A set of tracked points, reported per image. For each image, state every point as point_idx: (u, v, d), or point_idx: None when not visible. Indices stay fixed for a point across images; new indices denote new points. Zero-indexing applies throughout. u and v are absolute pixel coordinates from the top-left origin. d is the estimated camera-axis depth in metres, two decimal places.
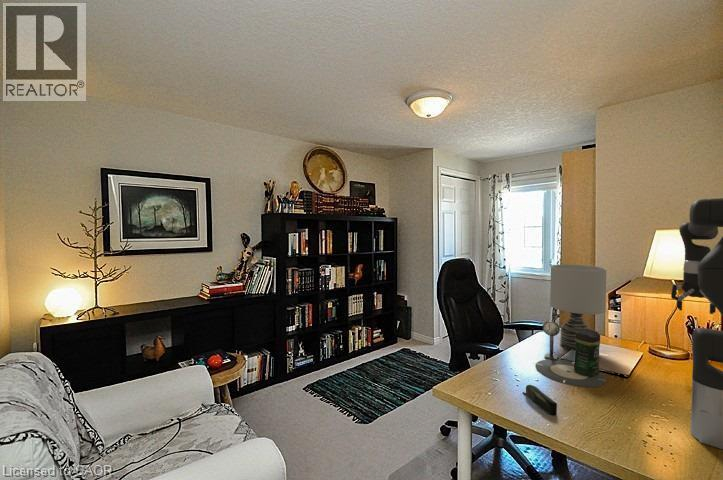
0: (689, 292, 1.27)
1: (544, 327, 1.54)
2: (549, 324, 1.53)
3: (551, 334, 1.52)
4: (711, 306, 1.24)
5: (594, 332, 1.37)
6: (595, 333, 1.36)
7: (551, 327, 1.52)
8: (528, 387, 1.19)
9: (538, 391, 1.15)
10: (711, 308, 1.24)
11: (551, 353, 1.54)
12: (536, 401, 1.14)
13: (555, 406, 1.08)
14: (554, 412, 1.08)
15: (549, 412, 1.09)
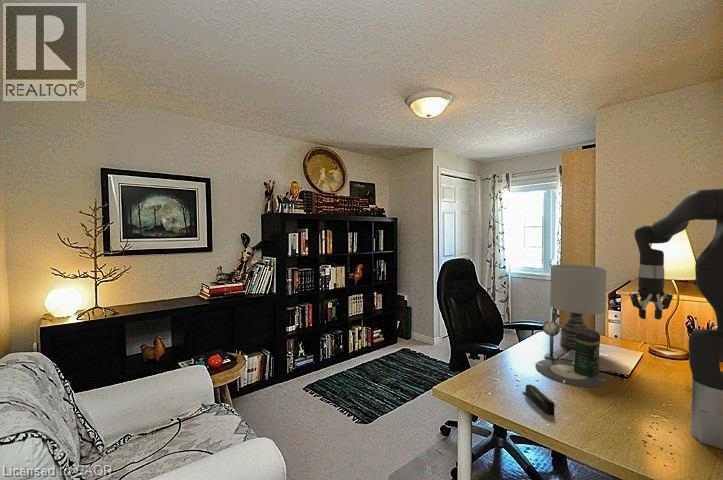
0: None
1: (544, 327, 1.54)
2: (549, 324, 1.53)
3: (551, 334, 1.52)
4: None
5: (594, 332, 1.37)
6: (595, 333, 1.36)
7: (551, 327, 1.52)
8: (527, 387, 1.20)
9: (537, 391, 1.15)
10: None
11: (551, 353, 1.54)
12: (535, 401, 1.15)
13: (553, 406, 1.08)
14: (551, 412, 1.08)
15: (547, 412, 1.09)
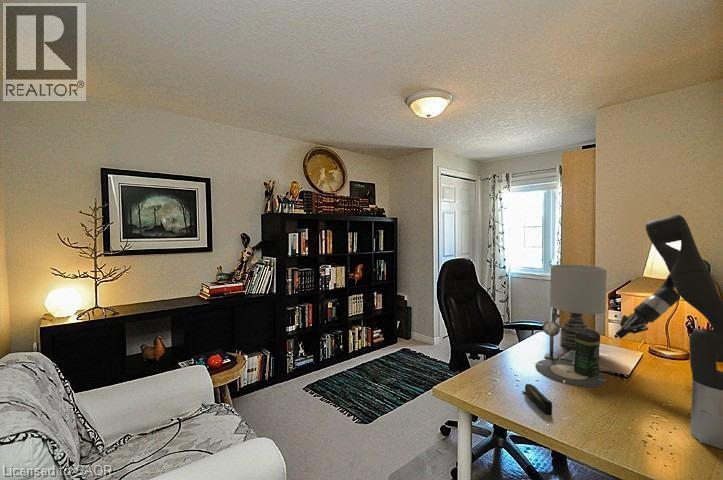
0: None
1: (544, 327, 1.54)
2: (549, 324, 1.53)
3: (551, 334, 1.52)
4: None
5: (594, 332, 1.37)
6: (595, 333, 1.36)
7: (551, 327, 1.52)
8: (527, 386, 1.20)
9: (535, 390, 1.16)
10: None
11: (551, 353, 1.54)
12: (533, 400, 1.15)
13: (550, 405, 1.08)
14: (549, 412, 1.09)
15: (544, 411, 1.09)
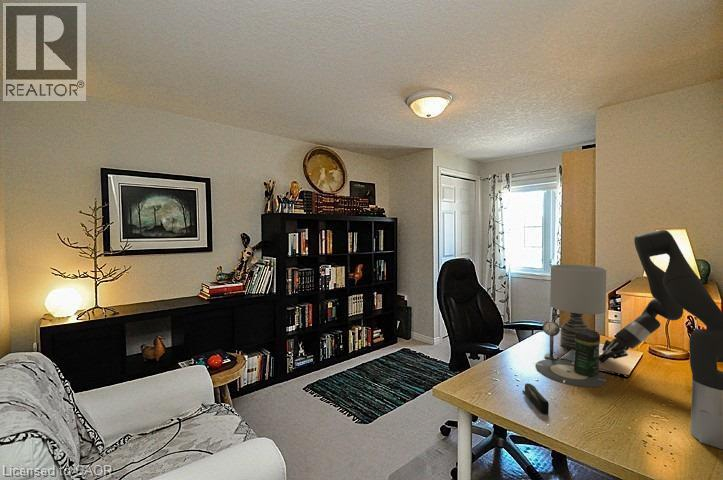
0: None
1: (544, 327, 1.54)
2: (549, 324, 1.53)
3: (551, 334, 1.52)
4: None
5: (594, 332, 1.37)
6: (594, 333, 1.36)
7: (551, 327, 1.52)
8: (526, 385, 1.20)
9: (534, 390, 1.16)
10: None
11: (551, 353, 1.54)
12: (531, 399, 1.16)
13: (546, 405, 1.09)
14: (545, 411, 1.09)
15: (540, 410, 1.10)
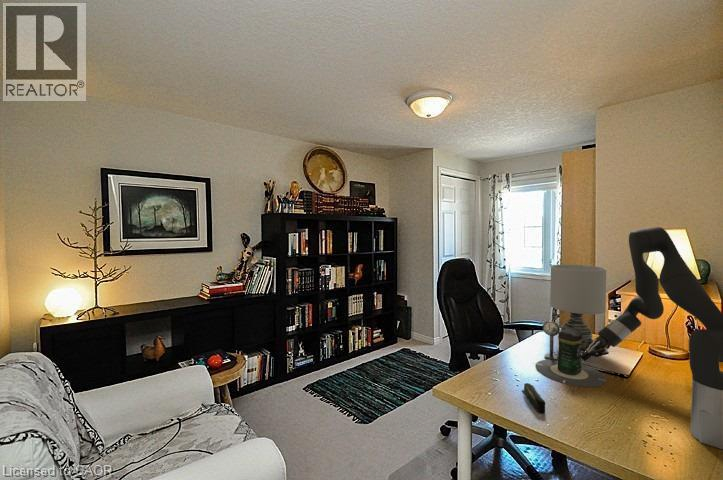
0: None
1: (544, 327, 1.54)
2: (549, 324, 1.53)
3: (551, 334, 1.52)
4: None
5: (576, 331, 1.39)
6: (577, 332, 1.38)
7: (551, 327, 1.52)
8: (525, 385, 1.21)
9: (532, 389, 1.16)
10: None
11: (551, 353, 1.54)
12: (529, 399, 1.16)
13: (543, 404, 1.09)
14: (541, 411, 1.09)
15: (537, 410, 1.10)
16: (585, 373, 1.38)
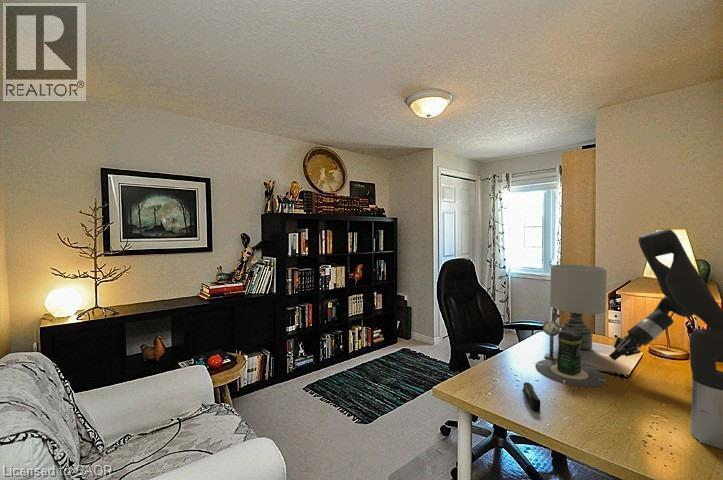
0: None
1: (544, 327, 1.54)
2: (549, 324, 1.53)
3: (551, 334, 1.52)
4: None
5: (576, 331, 1.39)
6: (577, 332, 1.38)
7: (551, 327, 1.52)
8: (524, 384, 1.22)
9: (530, 388, 1.17)
10: None
11: (551, 353, 1.54)
12: (526, 397, 1.17)
13: (538, 403, 1.10)
14: (536, 409, 1.10)
15: (532, 408, 1.11)
16: (585, 373, 1.38)
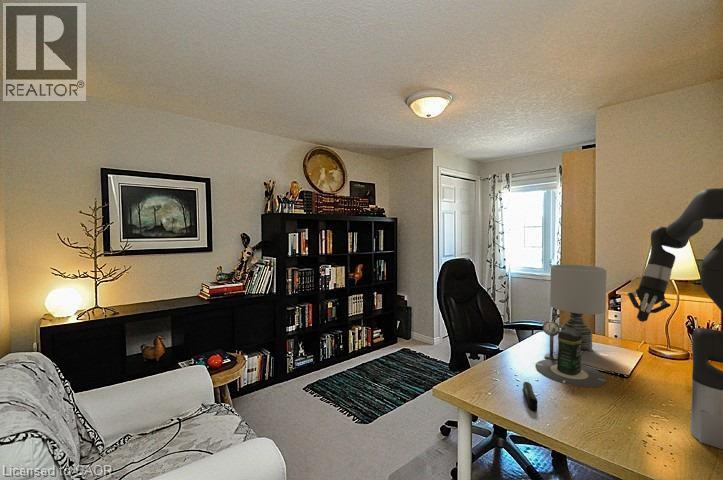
0: None
1: (544, 327, 1.54)
2: (549, 324, 1.53)
3: (551, 334, 1.52)
4: None
5: (576, 331, 1.39)
6: (576, 332, 1.38)
7: (551, 327, 1.52)
8: (524, 383, 1.22)
9: (528, 388, 1.18)
10: None
11: (551, 353, 1.54)
12: (525, 396, 1.17)
13: (534, 402, 1.10)
14: (533, 408, 1.11)
15: (529, 407, 1.12)
16: (585, 373, 1.38)
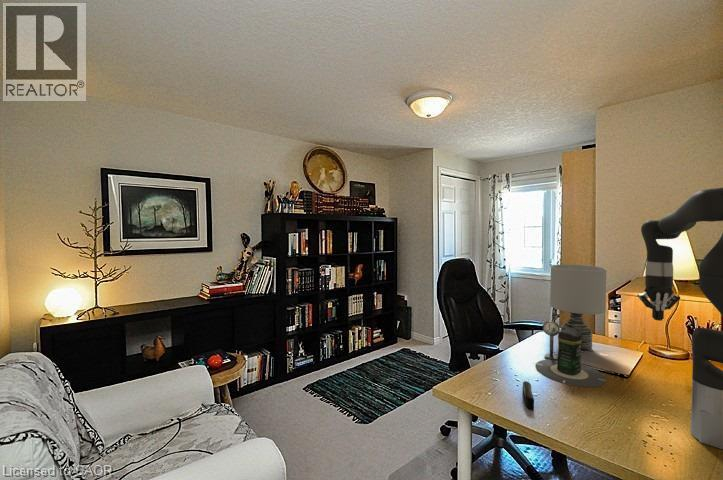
0: None
1: (544, 327, 1.54)
2: (549, 324, 1.53)
3: (551, 334, 1.52)
4: None
5: (576, 331, 1.39)
6: (576, 332, 1.38)
7: (551, 327, 1.52)
8: (523, 383, 1.22)
9: (527, 387, 1.18)
10: None
11: (551, 353, 1.54)
12: (523, 395, 1.18)
13: (531, 401, 1.11)
14: (530, 407, 1.11)
15: (526, 406, 1.13)
16: (585, 373, 1.38)
